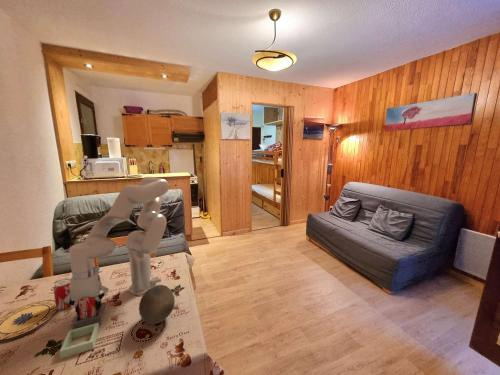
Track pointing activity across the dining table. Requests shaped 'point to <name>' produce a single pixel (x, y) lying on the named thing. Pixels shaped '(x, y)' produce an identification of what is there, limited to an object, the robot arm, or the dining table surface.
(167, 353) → the dining table surface
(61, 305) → the soda can
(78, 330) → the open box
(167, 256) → the dining table surface
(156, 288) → the cantaloupe
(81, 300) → the soda can
